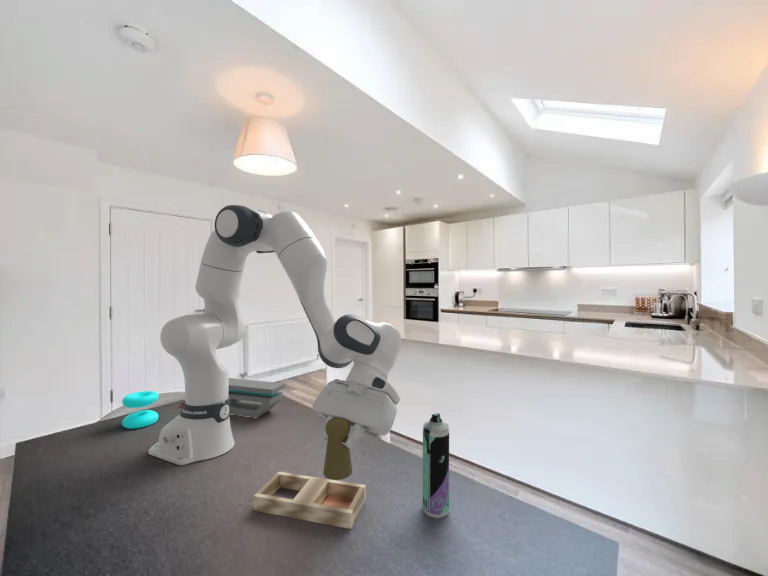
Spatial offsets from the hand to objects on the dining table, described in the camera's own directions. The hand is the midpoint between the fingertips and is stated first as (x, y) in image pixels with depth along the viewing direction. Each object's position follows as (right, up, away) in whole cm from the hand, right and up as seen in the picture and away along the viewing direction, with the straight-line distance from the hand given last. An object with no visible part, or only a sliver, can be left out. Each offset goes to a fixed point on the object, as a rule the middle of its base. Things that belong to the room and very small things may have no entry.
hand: (335, 443), depth 69 cm
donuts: (-73, -14, +43) cm, 86 cm away
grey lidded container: (-40, -14, +54) cm, 68 cm away
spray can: (+21, -14, +1) cm, 25 cm away
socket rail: (-6, -14, +2) cm, 15 cm away
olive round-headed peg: (0, -6, +1) cm, 6 cm away
